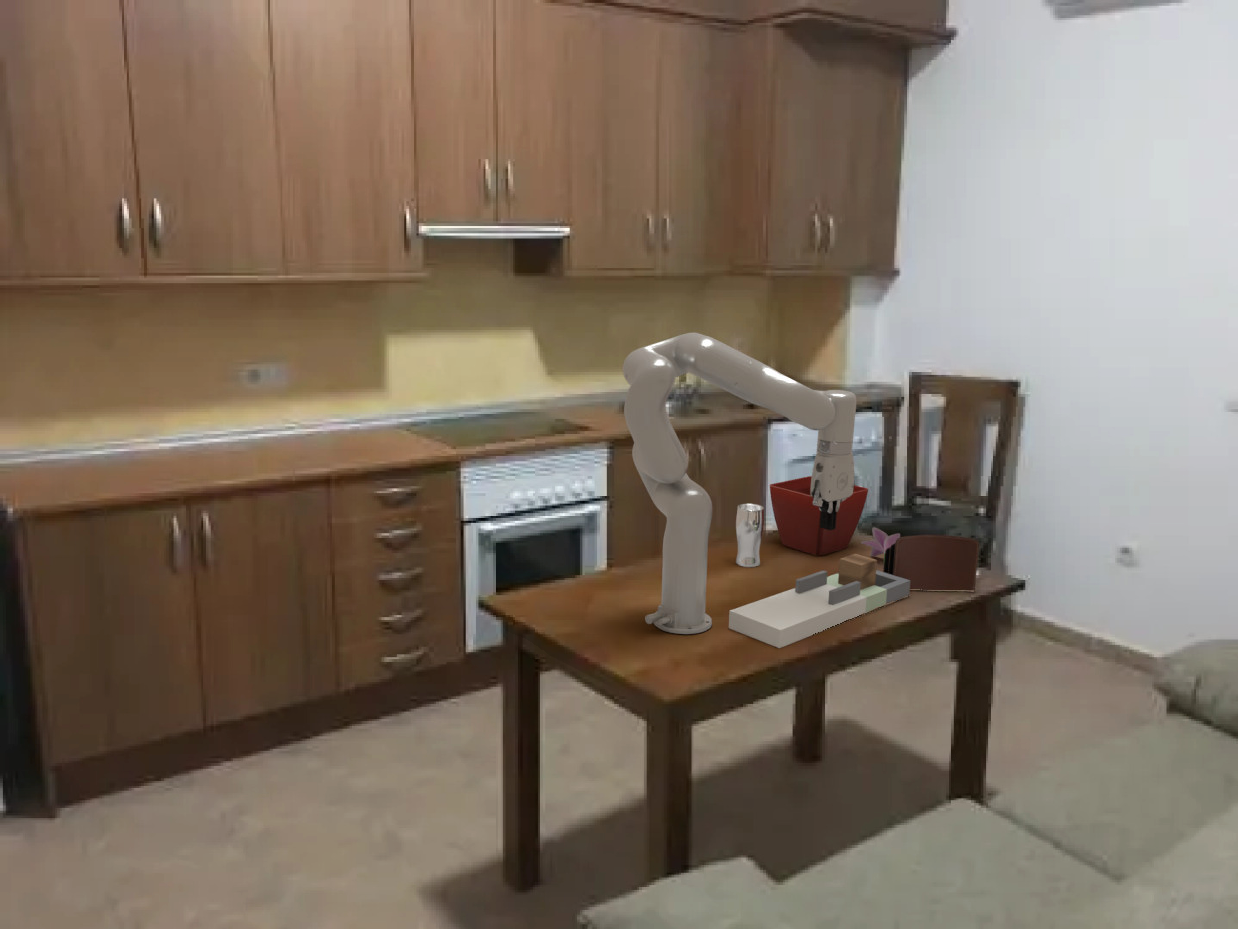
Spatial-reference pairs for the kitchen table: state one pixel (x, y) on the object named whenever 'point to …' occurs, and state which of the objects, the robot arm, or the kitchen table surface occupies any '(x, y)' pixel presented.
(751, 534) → the beer glass
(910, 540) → the letter holder
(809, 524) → the plant pot
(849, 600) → the channel deck
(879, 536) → the lily
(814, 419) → the robot arm
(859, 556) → the walnut block
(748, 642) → the kitchen table surface
